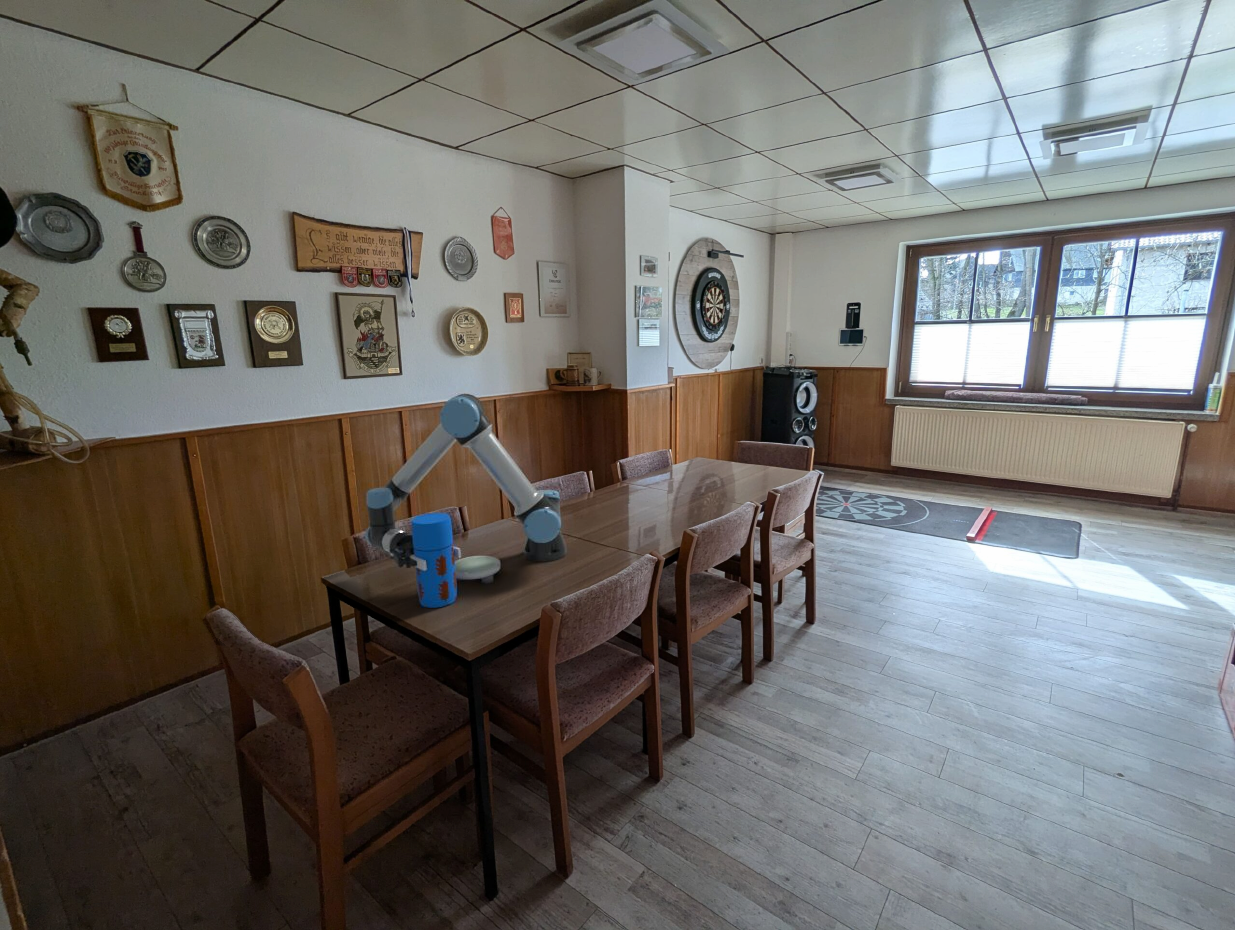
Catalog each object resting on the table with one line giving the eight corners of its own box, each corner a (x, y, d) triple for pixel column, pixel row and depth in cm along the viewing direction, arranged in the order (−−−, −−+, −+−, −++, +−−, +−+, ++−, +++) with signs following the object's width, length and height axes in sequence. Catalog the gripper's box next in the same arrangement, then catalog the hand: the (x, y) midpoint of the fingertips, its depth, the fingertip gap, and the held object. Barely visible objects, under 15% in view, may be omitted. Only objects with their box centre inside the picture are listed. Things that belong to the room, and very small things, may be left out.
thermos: (461, 591, 173) (454, 512, 168) (452, 607, 163) (445, 523, 158) (425, 592, 173) (417, 513, 168) (414, 608, 163) (405, 524, 157)
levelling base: (441, 585, 178) (440, 573, 177) (462, 565, 194) (461, 554, 193) (490, 588, 176) (489, 575, 175) (507, 567, 191) (507, 556, 190)
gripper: (434, 544, 186) (477, 559, 172) (365, 566, 168) (407, 585, 155) (432, 522, 184) (475, 535, 171) (362, 542, 167) (404, 559, 153)
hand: (442, 559), depth 163 cm, fingers closed on thermos, 11 cm apart
